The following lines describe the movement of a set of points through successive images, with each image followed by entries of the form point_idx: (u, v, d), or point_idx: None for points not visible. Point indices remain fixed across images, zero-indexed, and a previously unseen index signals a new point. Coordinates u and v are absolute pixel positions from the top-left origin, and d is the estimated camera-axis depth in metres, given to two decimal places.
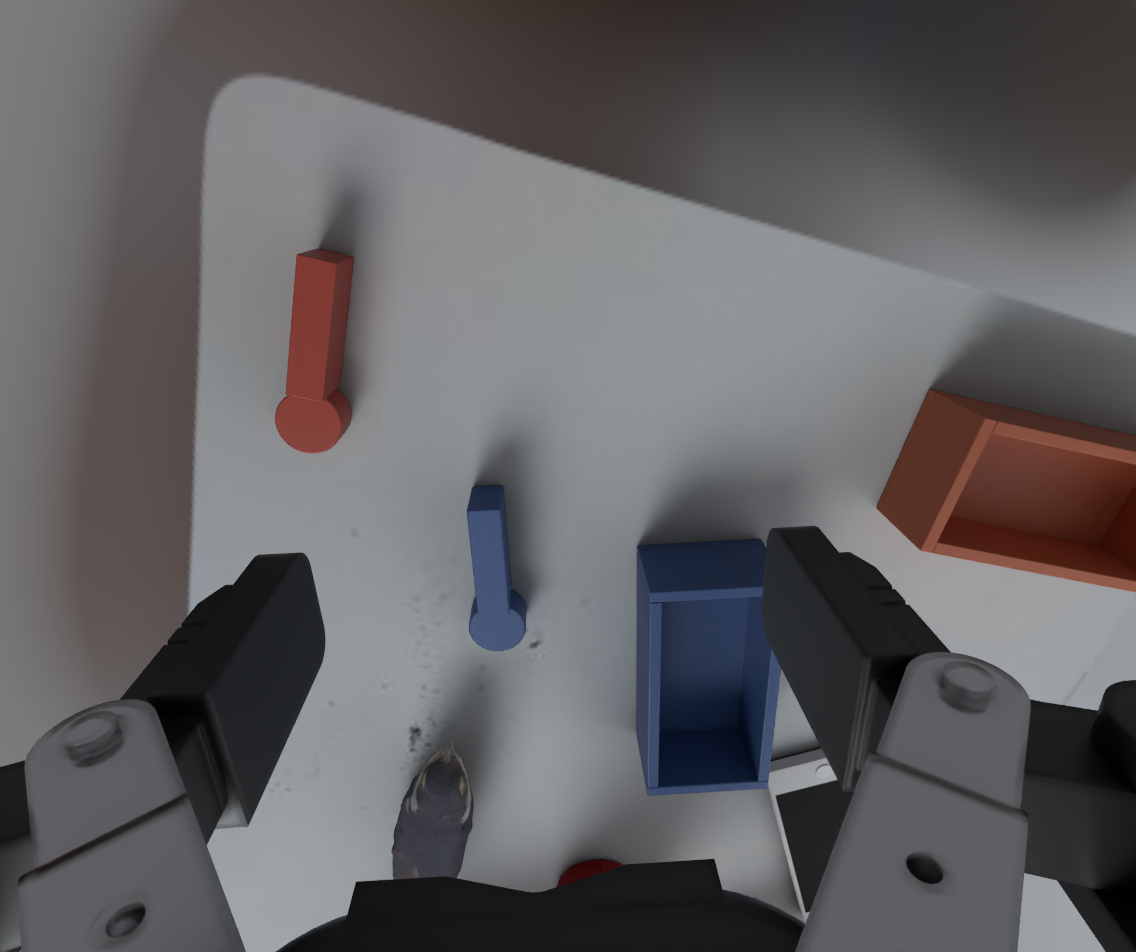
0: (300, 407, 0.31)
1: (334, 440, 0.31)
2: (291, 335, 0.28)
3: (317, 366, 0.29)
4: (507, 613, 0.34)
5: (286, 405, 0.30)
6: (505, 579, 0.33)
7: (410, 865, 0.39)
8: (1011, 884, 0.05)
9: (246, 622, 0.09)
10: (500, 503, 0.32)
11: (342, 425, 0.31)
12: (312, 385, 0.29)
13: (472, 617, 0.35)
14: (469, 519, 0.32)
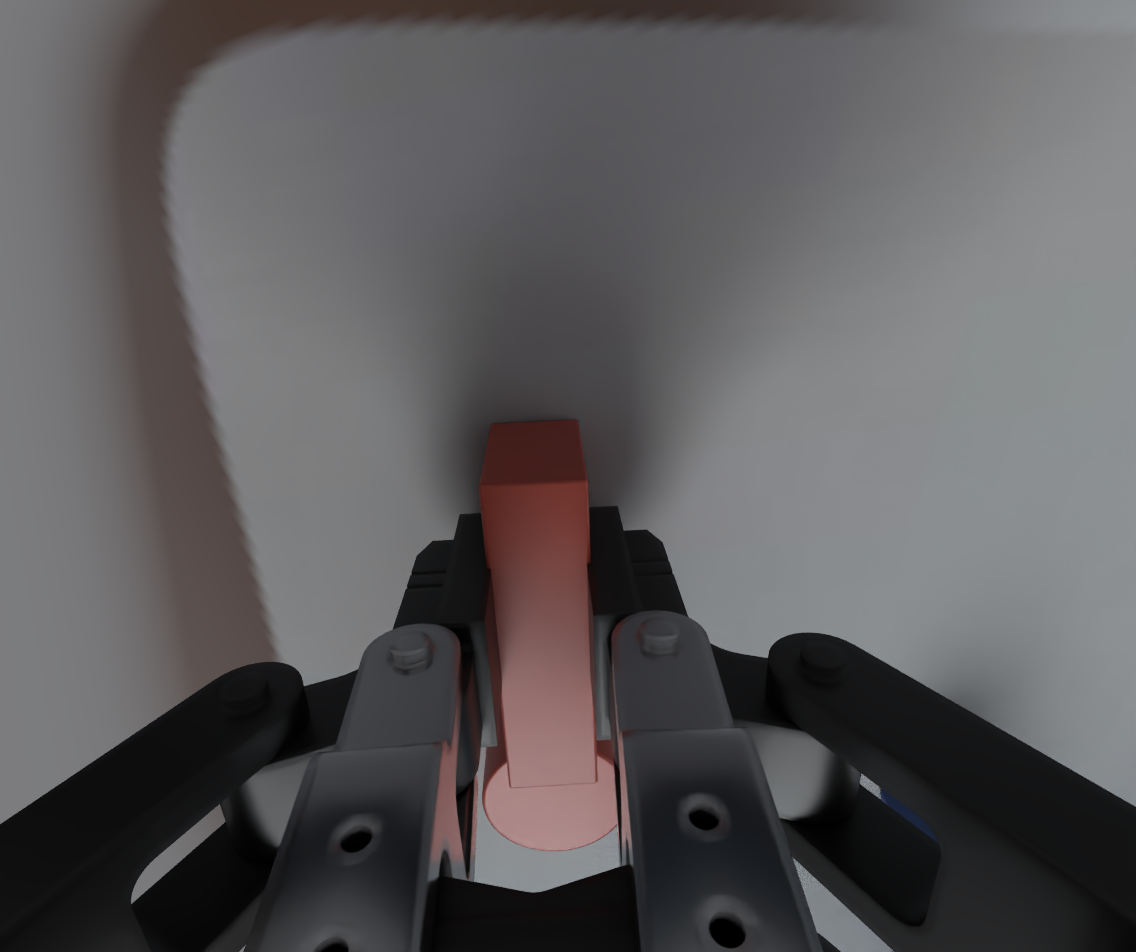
0: None
1: None
2: None
3: (574, 717, 0.12)
4: None
5: (504, 780, 0.13)
6: None
7: None
8: (763, 795, 0.06)
9: (485, 566, 0.10)
10: None
11: None
12: (568, 757, 0.12)
13: None
14: None
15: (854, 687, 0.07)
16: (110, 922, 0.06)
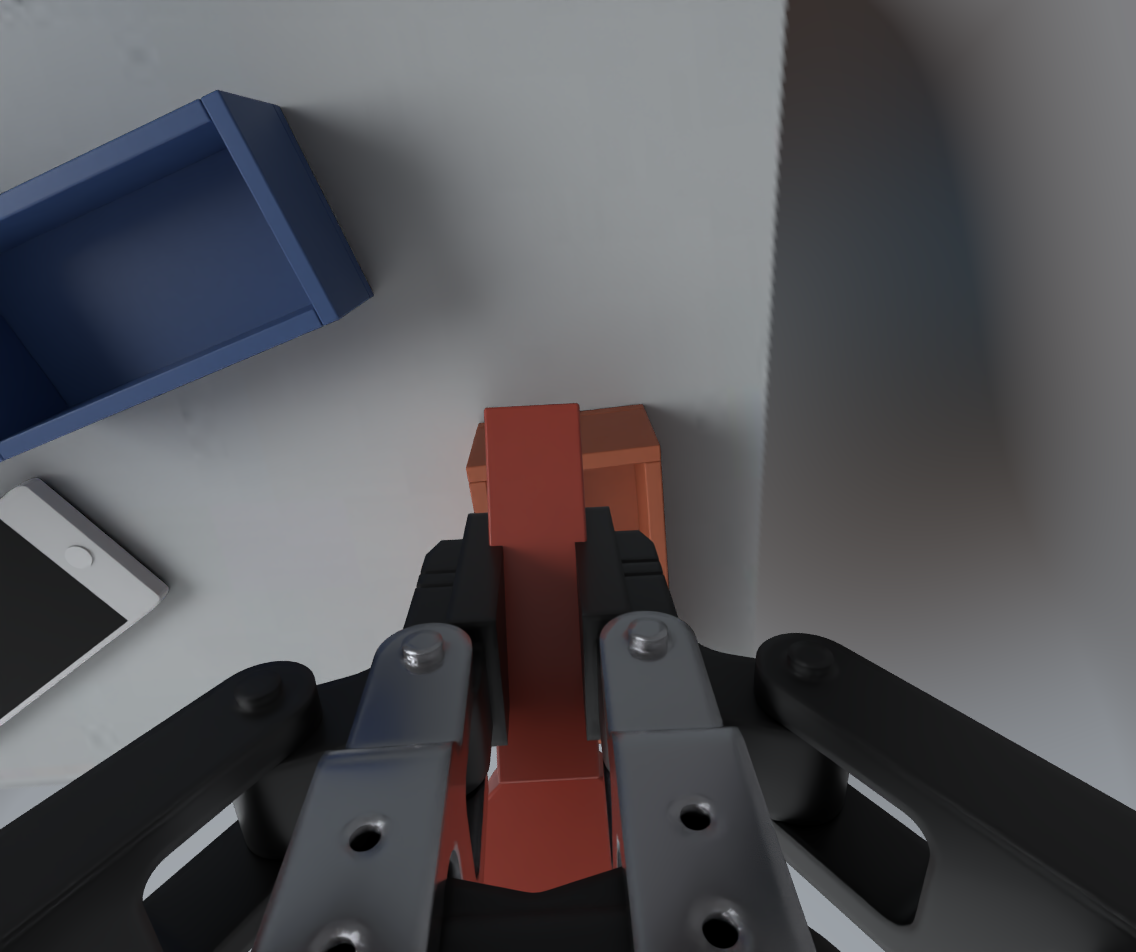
0: (529, 815, 0.11)
1: None
2: None
3: (571, 676, 0.11)
4: None
5: (493, 819, 0.11)
6: None
7: None
8: (754, 793, 0.06)
9: (494, 566, 0.10)
10: None
11: None
12: (566, 734, 0.11)
13: None
14: None
15: (840, 688, 0.07)
16: (121, 919, 0.06)
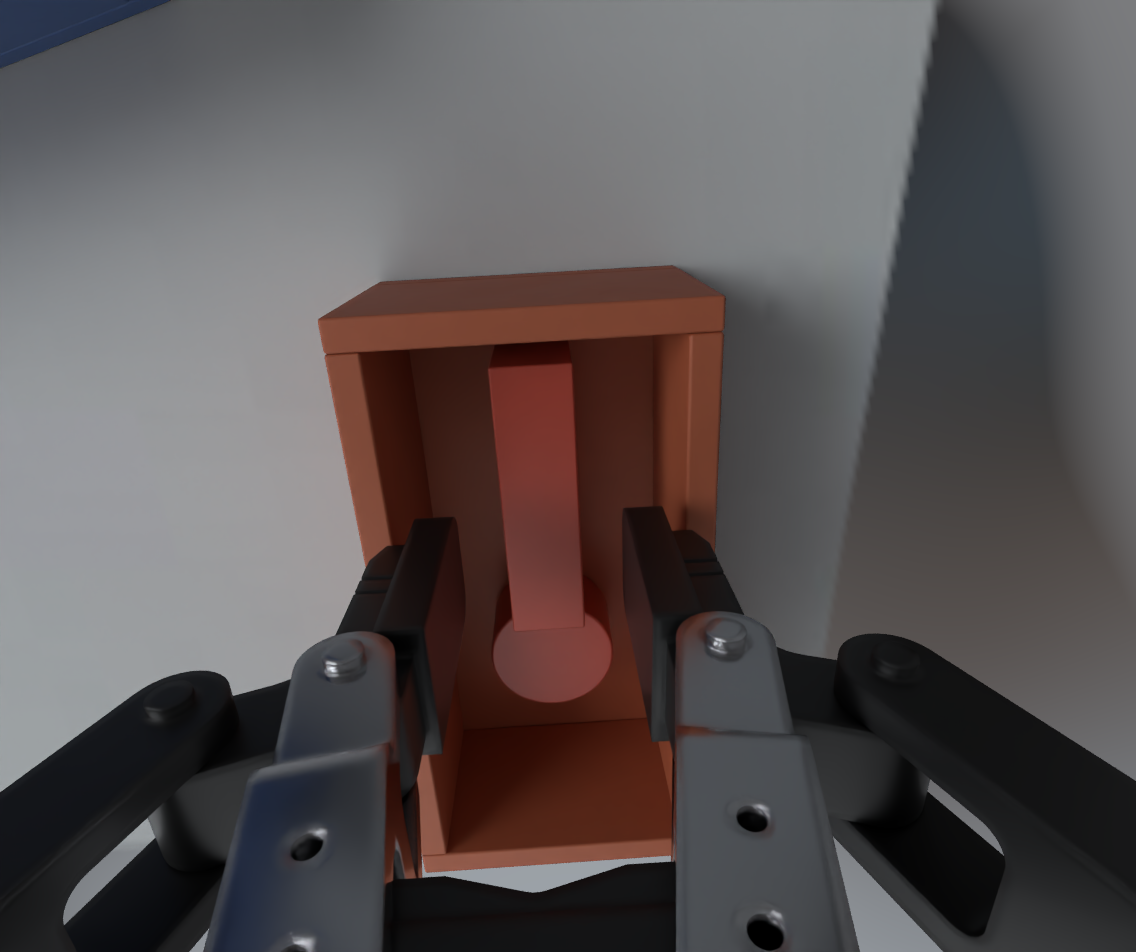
0: (534, 634, 0.16)
1: (604, 672, 0.17)
2: (505, 526, 0.14)
3: (565, 568, 0.14)
4: None
5: (509, 637, 0.16)
6: None
7: None
8: (816, 804, 0.06)
9: (432, 572, 0.10)
10: None
11: (612, 642, 0.17)
12: (561, 603, 0.15)
13: None
14: None
15: (929, 689, 0.07)
16: (42, 942, 0.06)
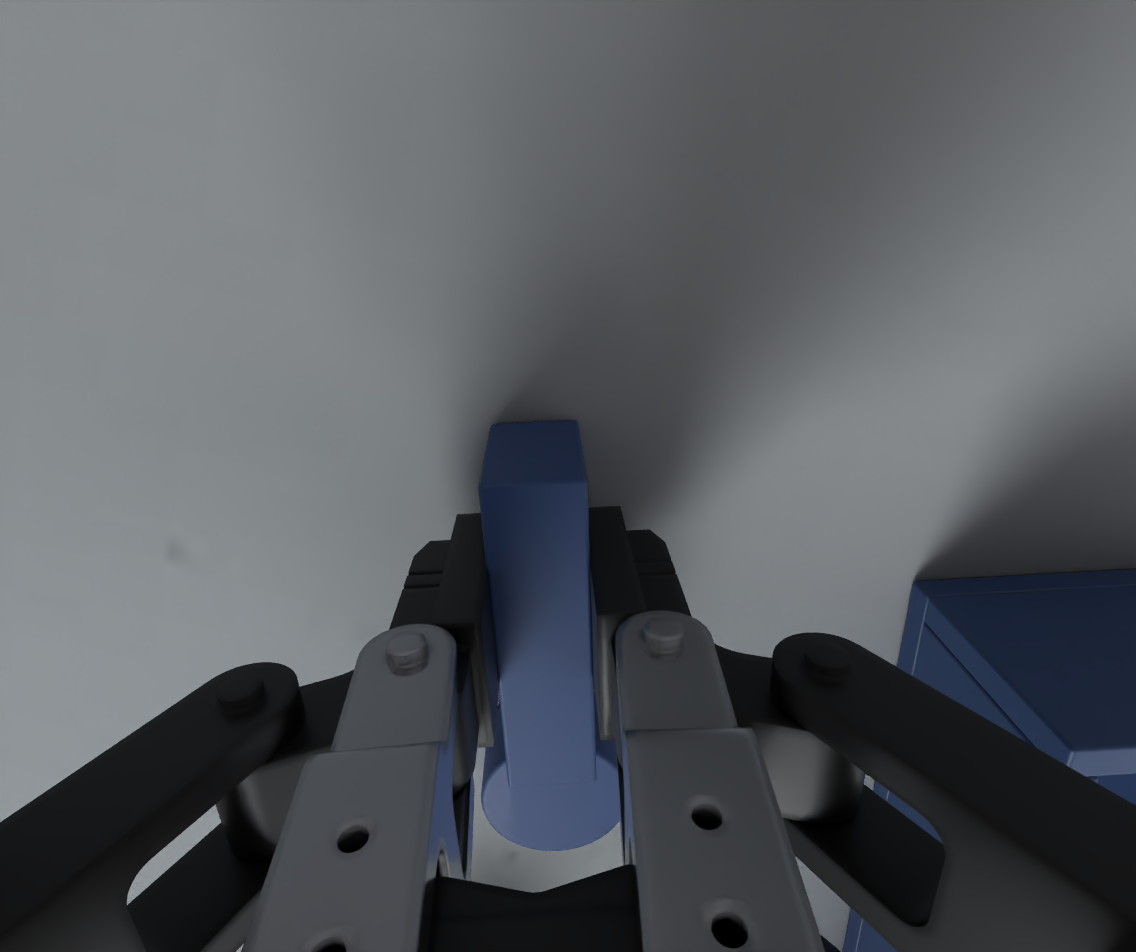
0: None
1: None
2: None
3: None
4: (591, 779, 0.12)
5: None
6: (591, 690, 0.11)
7: None
8: (767, 795, 0.06)
9: (481, 567, 0.10)
10: (582, 463, 0.10)
11: None
12: None
13: (490, 774, 0.13)
14: (486, 513, 0.10)
15: (858, 687, 0.07)
16: (106, 923, 0.06)
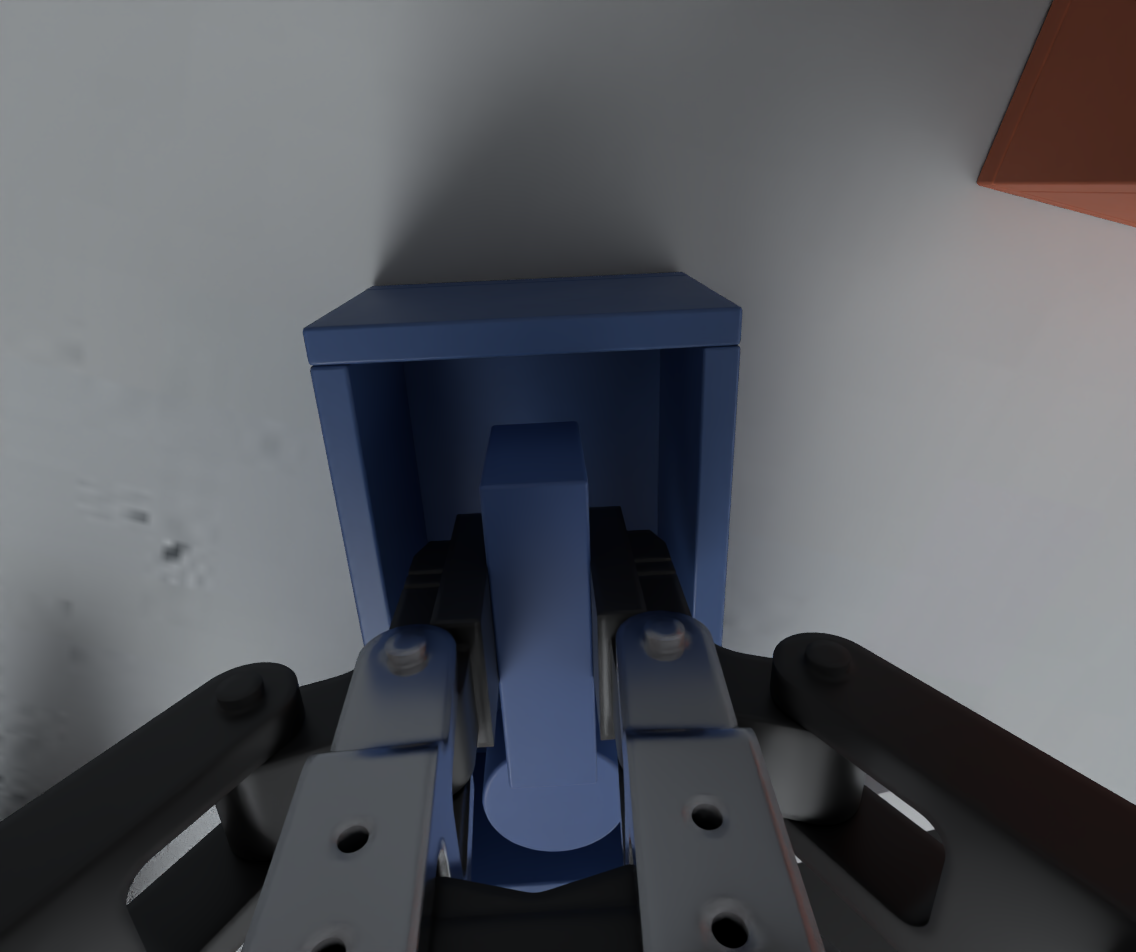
0: None
1: None
2: None
3: None
4: (592, 780, 0.12)
5: None
6: (592, 692, 0.11)
7: None
8: (767, 795, 0.06)
9: (481, 567, 0.10)
10: (583, 465, 0.10)
11: None
12: None
13: (491, 775, 0.13)
14: (487, 515, 0.10)
15: (859, 687, 0.07)
16: (105, 923, 0.06)
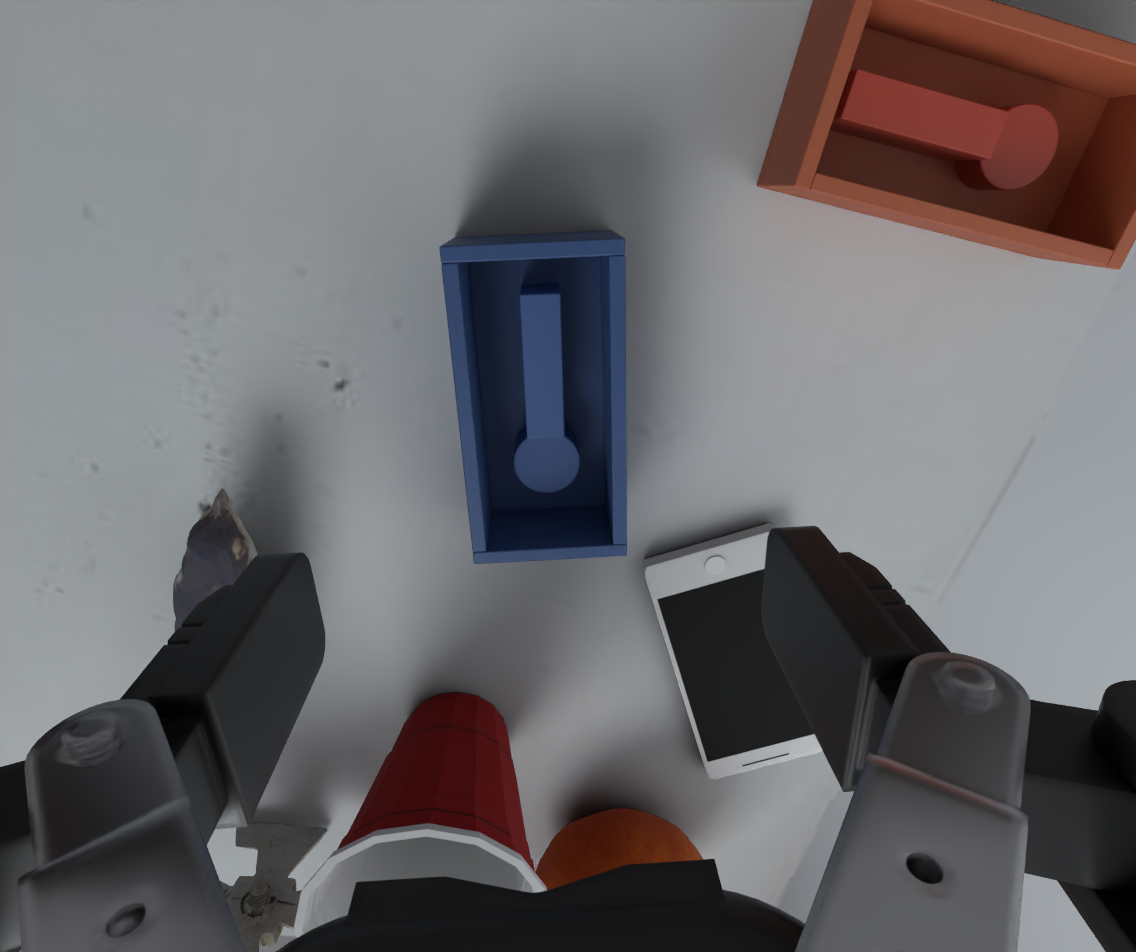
0: (998, 154, 0.26)
1: (1049, 115, 0.25)
2: (925, 140, 0.25)
3: (967, 112, 0.24)
4: (562, 435, 0.28)
5: (992, 171, 0.26)
6: (562, 389, 0.28)
7: None
8: (1011, 884, 0.05)
9: (246, 622, 0.09)
10: (559, 291, 0.27)
11: None
12: (988, 122, 0.24)
13: (518, 447, 0.30)
14: (522, 306, 0.26)
15: None
16: None
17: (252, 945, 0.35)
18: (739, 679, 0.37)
